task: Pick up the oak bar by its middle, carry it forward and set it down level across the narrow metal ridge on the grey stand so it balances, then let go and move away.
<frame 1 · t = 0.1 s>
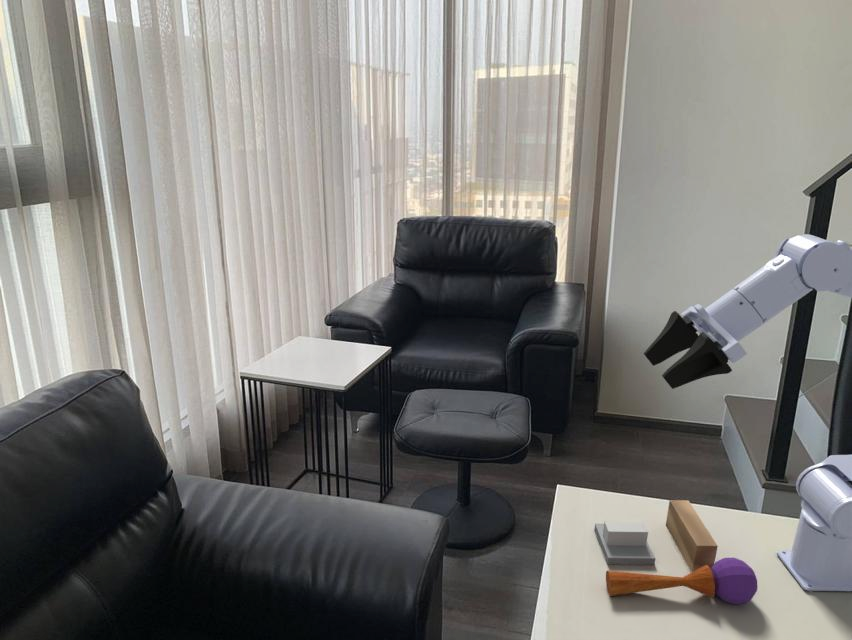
hand: (657, 370, 83), 32 cm above the table, tool tilted 50°, fingers open, 7 cm apart
balance stand: (623, 546, 98), on the table
kendama: (678, 596, 89), on the table
oak bar: (687, 548, 98), on the table
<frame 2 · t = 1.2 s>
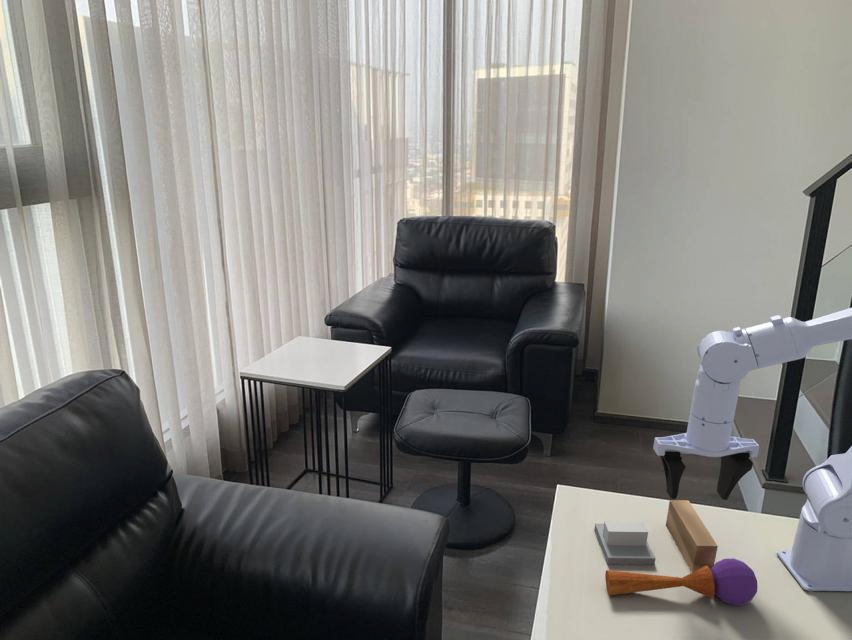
hand: (696, 495, 95), 9 cm above the table, tool pointing down, fingers open, 7 cm apart
nothing on the table moved.
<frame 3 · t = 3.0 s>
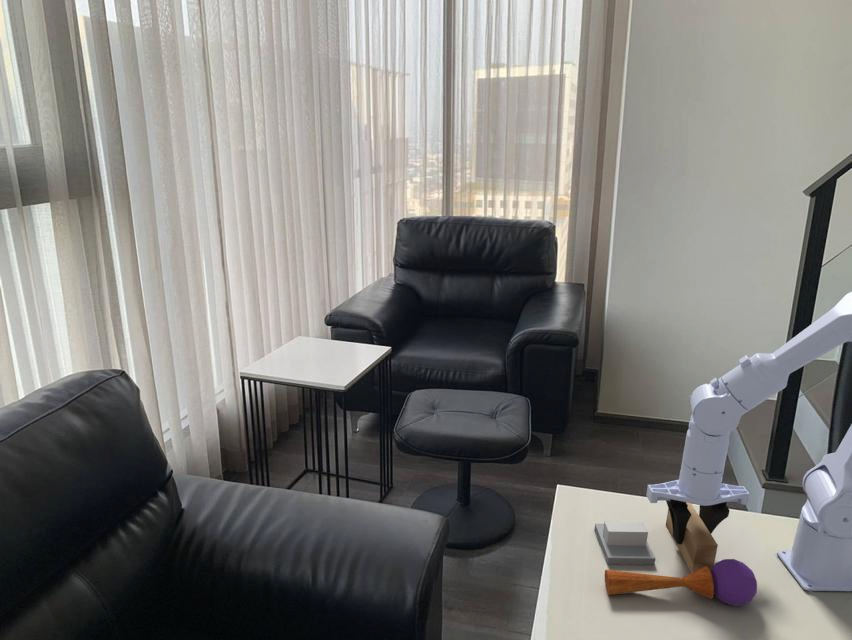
hand: (689, 540, 98), 1 cm above the table, tool pointing down, fingers closed on oak bar, 3 cm apart
oak bar: (687, 547, 98), on the table, touching gripper
everything else where it was.
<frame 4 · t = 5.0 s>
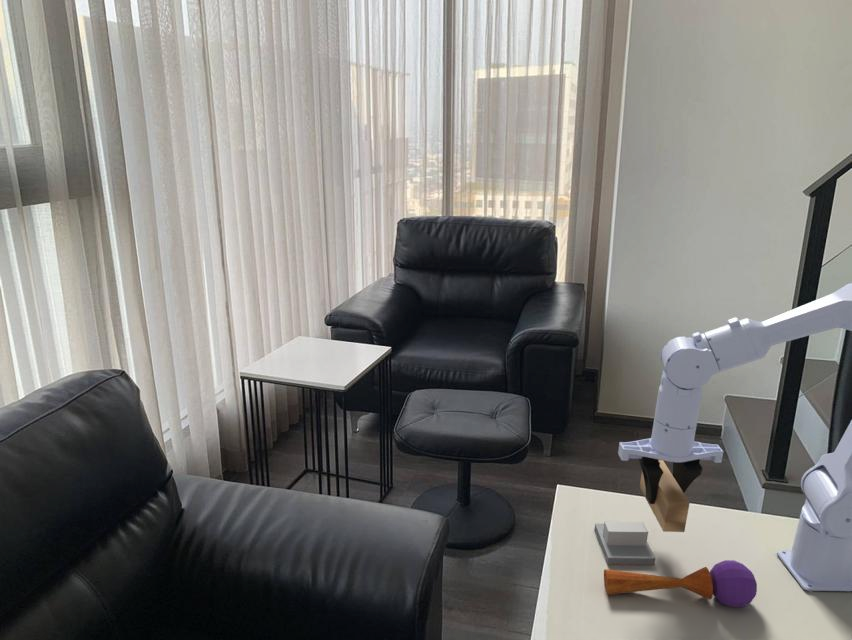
hand: (662, 500, 95), 9 cm above the table, tool pointing down, fingers closed on oak bar, 3 cm apart
oak bar: (660, 508, 96), point 7 cm above the table, touching gripper
everything else where it was.
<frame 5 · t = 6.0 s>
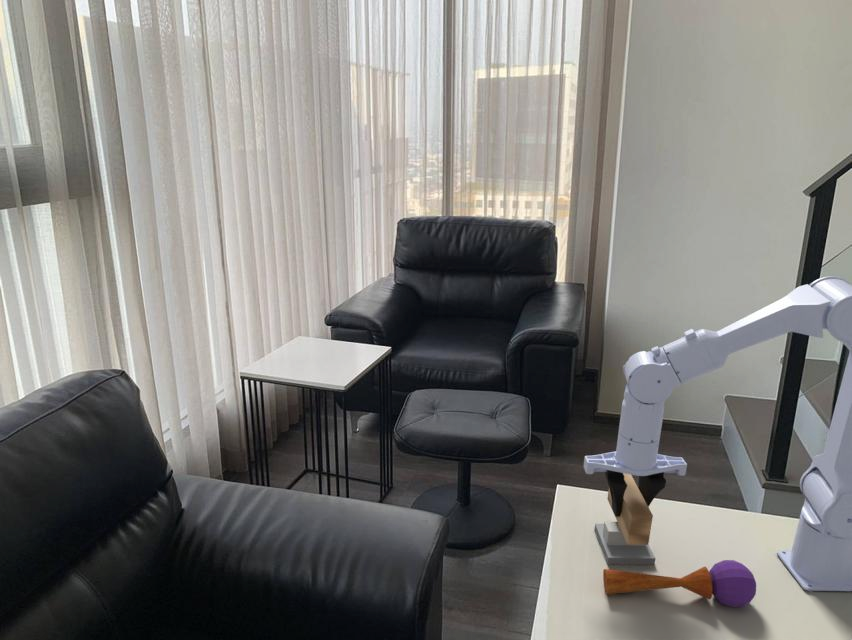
hand: (627, 512, 96), 6 cm above the table, tool pointing down, fingers closed on oak bar, 3 cm apart
oak bar: (626, 520, 97), point 5 cm above the table, touching gripper
everything else where it was.
when the fingers open (6 cm above the table, at t = 7.0 s): oak bar stays where it is, resting on balance stand.
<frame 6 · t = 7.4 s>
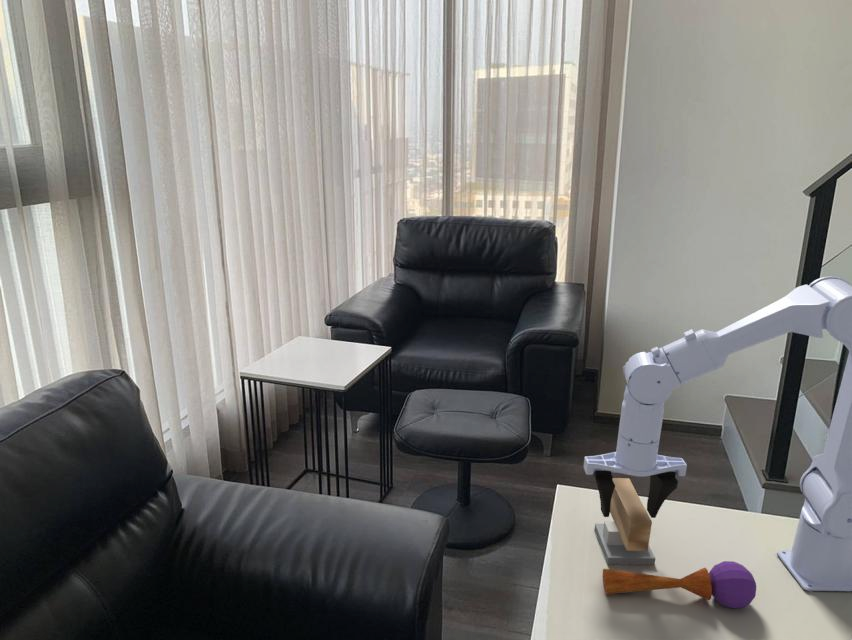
hand: (627, 513, 96), 6 cm above the table, tool pointing down, fingers open, 6 cm apart
oak bar: (626, 526, 97), point 4 cm above the table, touching balance stand
everything else where it was.
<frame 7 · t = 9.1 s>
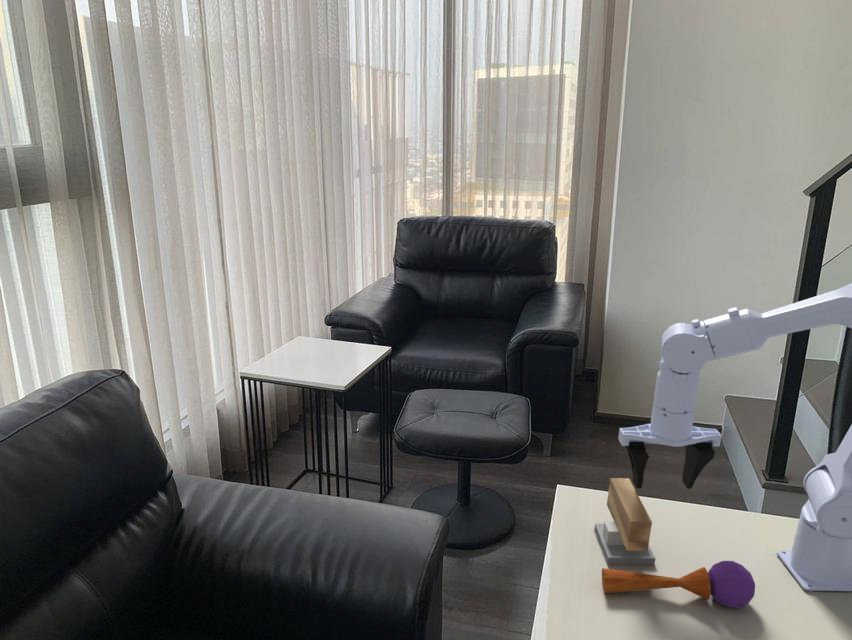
hand: (662, 484, 97), 10 cm above the table, tool pointing down, fingers open, 7 cm apart
nothing on the table moved.
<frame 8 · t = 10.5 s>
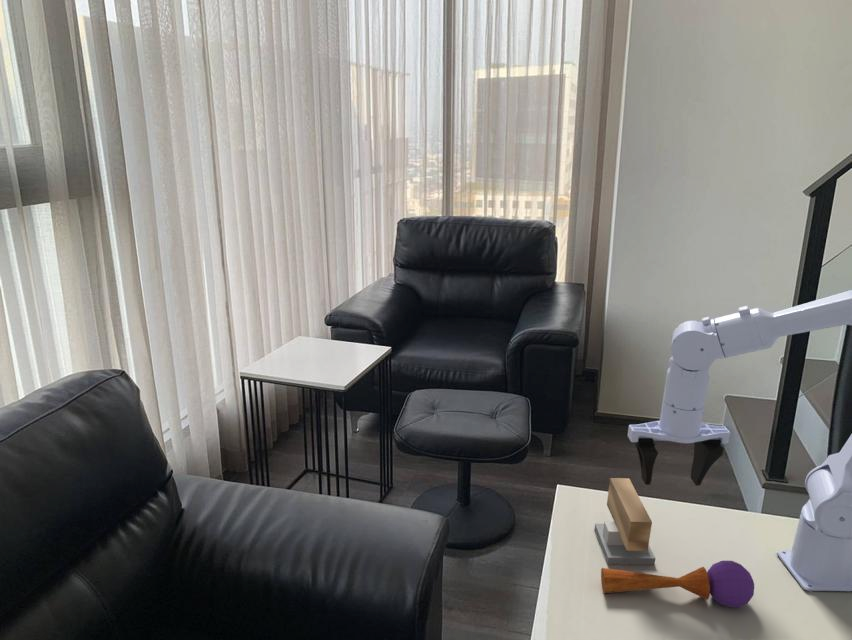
hand: (670, 481, 98), 10 cm above the table, tool pointing down, fingers open, 7 cm apart
nothing on the table moved.
at the end: oak bar 0.0 cm off-centre on the balance stand, point 3.7 cm above the balance stand's base; oak bar tilted 0°; the gripper is holding nothing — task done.
